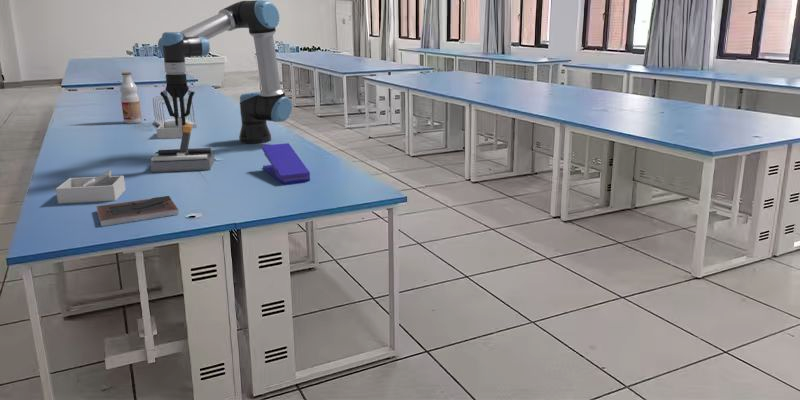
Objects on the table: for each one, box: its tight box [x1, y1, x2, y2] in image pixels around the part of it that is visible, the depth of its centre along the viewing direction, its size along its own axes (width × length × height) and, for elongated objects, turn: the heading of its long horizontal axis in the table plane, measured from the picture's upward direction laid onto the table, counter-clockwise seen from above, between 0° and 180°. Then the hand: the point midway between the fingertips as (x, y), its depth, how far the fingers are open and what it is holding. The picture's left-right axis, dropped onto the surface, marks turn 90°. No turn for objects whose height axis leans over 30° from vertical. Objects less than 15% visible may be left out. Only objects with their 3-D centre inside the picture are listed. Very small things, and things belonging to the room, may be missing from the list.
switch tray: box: [55, 175, 126, 204], centre depth 206 cm, size 18×14×5 cm
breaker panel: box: [150, 150, 216, 174], centre depth 245 cm, size 22×16×6 cm
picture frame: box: [96, 195, 180, 227], centre depth 189 cm, size 16×2×22 cm
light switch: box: [82, 169, 113, 187], centre depth 206 cm, size 8×6×14 cm
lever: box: [179, 124, 193, 154], centre depth 244 cm, size 3×7×13 cm, turn 10°
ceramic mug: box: [164, 121, 179, 128], centre depth 307 cm, size 11×8×8 cm
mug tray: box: [156, 122, 190, 140], centre depth 309 cm, size 14×16×5 cm
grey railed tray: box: [150, 147, 212, 162], centre depth 245 cm, size 21×15×2 cm
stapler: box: [261, 142, 311, 185], centre depth 232 cm, size 12×28×10 cm, turn 28°
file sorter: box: [152, 94, 198, 128], centre depth 336 cm, size 25×17×16 cm
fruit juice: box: [119, 71, 143, 125], centre depth 343 cm, size 9×9×28 cm
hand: (181, 133), depth 243 cm, fingers closed
